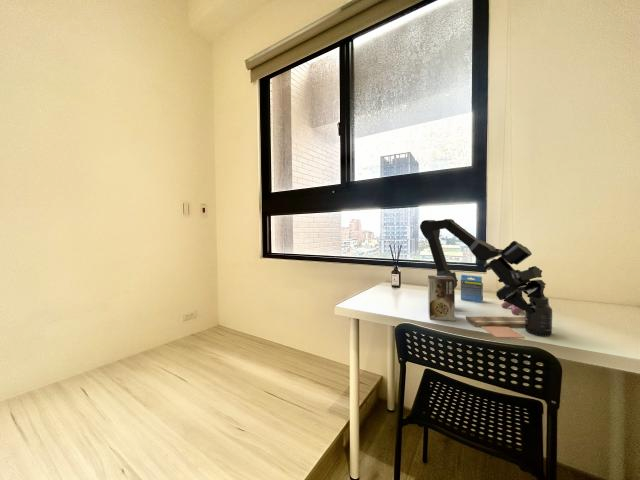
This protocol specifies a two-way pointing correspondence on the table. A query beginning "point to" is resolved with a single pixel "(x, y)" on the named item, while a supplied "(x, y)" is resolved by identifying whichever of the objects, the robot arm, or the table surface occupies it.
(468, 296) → the label tape box
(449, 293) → the coffee box
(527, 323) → the supplement bottle
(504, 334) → the end pad
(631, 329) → the table surface
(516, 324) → the walnut board
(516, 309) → the video game controller
